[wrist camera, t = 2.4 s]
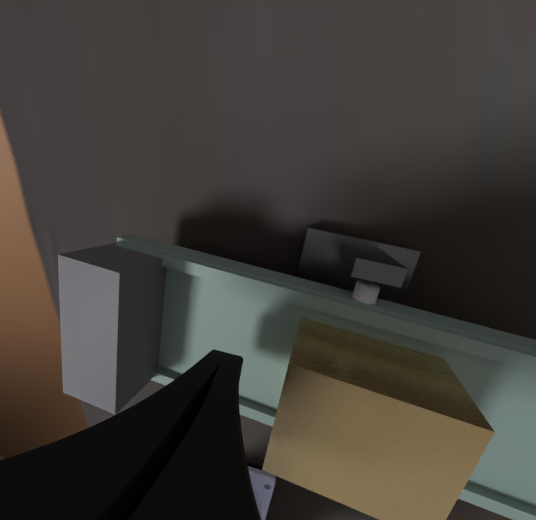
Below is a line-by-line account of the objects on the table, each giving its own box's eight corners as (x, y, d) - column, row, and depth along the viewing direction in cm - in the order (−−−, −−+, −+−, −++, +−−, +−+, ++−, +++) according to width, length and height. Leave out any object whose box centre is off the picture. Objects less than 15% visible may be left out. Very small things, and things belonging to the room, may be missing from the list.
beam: (588, 531, 12) (716, 699, 8) (128, 358, 17) (63, 408, 13) (718, 369, 9) (1001, 494, 5) (134, 222, 14) (56, 230, 10)
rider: (405, 446, 12) (433, 542, 8) (280, 401, 13) (261, 469, 10) (444, 359, 10) (495, 432, 7) (301, 317, 12) (288, 363, 8)
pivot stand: (353, 414, 18) (370, 493, 13) (269, 392, 18) (256, 459, 14) (413, 247, 14) (464, 273, 10) (307, 225, 15) (308, 240, 10)
